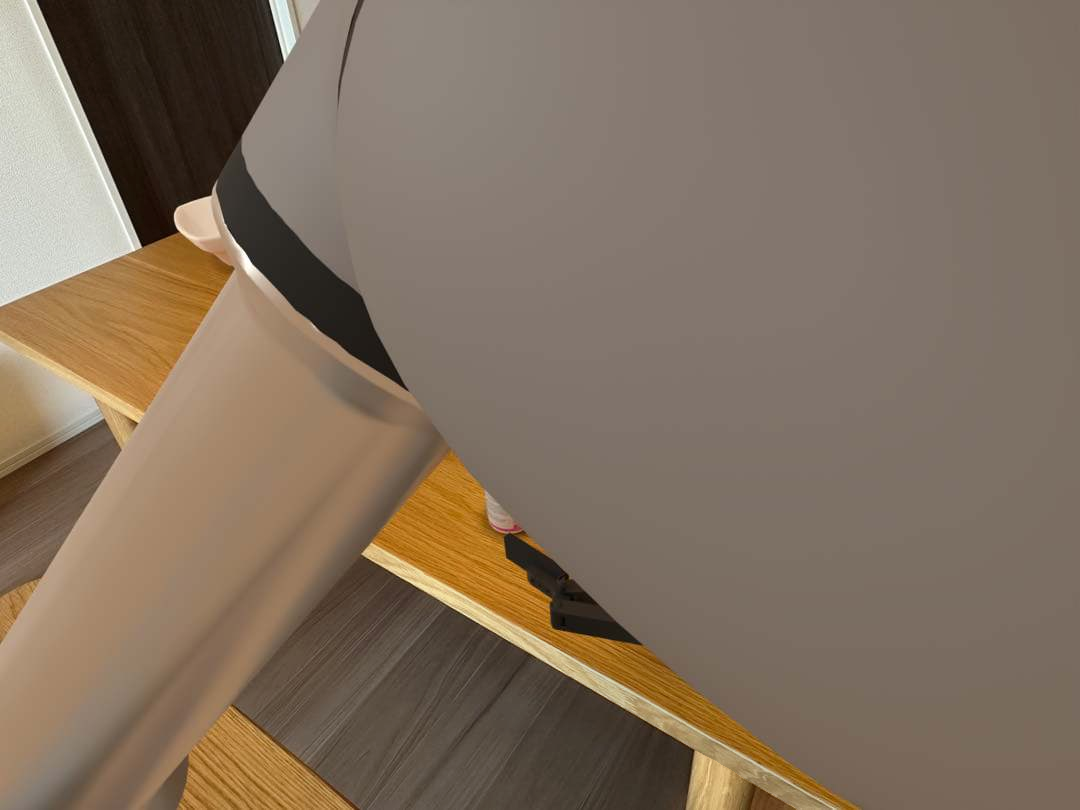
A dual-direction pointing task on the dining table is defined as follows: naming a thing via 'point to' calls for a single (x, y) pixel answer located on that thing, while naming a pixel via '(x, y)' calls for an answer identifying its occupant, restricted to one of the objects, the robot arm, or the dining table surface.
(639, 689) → the dining table surface
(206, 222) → the bowl
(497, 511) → the pill bottle
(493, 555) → the dining table surface
